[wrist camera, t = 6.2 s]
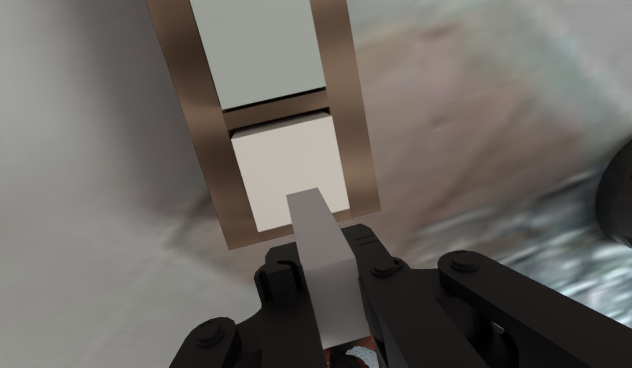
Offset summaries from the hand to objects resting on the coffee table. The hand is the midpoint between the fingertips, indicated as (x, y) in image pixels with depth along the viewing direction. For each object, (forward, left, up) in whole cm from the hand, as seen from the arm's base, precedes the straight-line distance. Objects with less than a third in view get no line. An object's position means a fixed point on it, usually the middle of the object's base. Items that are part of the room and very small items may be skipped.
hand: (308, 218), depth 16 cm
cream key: (0, 0, -14) cm, 14 cm away
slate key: (+9, 0, -14) cm, 16 cm away
